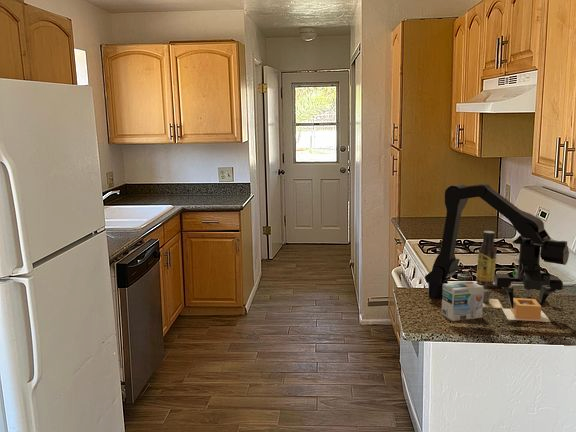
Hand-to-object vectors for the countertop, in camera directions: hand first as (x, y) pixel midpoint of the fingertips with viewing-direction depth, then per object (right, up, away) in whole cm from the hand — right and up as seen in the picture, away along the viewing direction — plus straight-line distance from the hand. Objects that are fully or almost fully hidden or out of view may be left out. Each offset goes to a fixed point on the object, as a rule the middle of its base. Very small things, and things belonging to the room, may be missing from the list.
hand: (525, 308), depth 169 cm
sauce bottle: (+1, +3, +36) cm, 37 cm away
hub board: (0, -3, 0) cm, 3 cm away
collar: (0, -2, 0) cm, 2 cm away
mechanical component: (+8, 0, +18) cm, 20 cm away
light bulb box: (-20, -3, 0) cm, 20 cm away
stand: (-8, -1, +12) cm, 14 cm away
